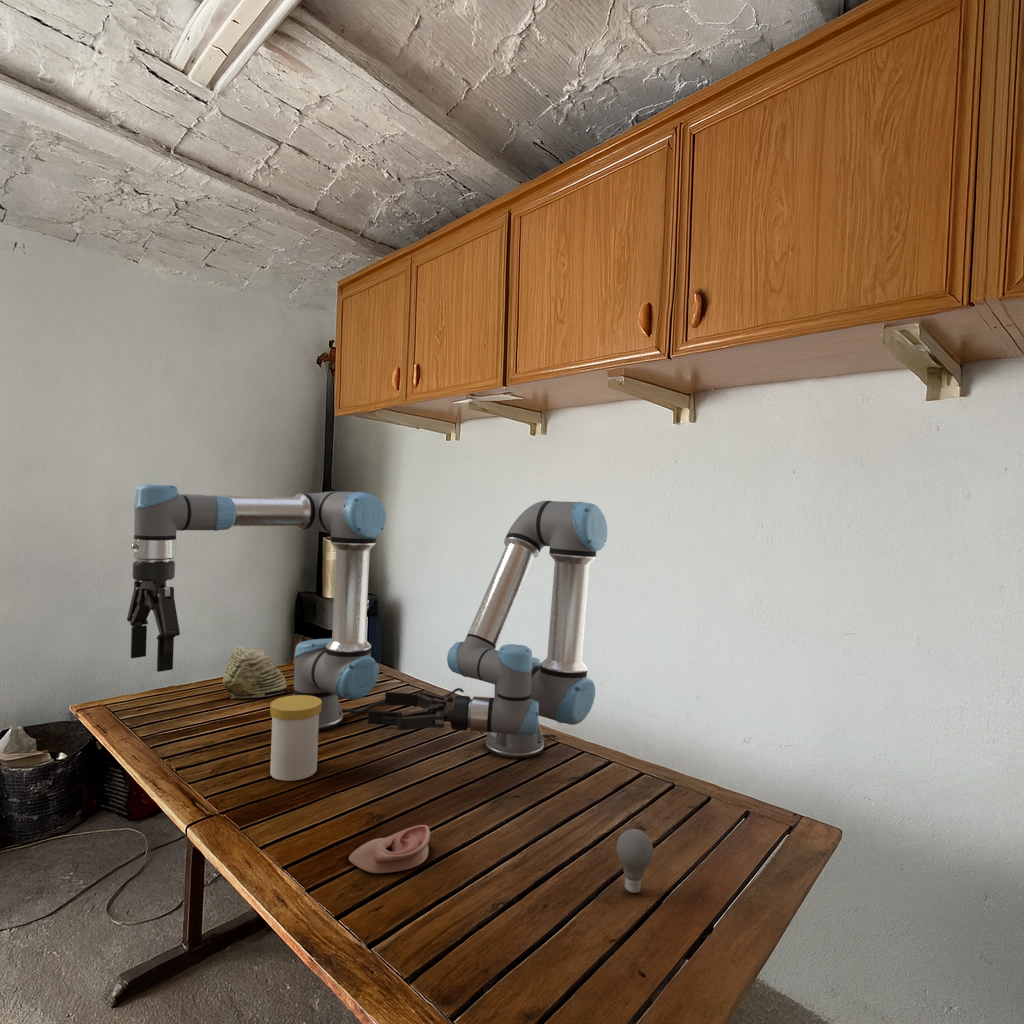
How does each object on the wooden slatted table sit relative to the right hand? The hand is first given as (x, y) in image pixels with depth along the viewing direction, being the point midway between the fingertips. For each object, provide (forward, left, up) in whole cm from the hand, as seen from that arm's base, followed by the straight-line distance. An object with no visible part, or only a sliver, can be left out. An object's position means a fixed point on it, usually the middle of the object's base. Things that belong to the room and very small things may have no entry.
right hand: (377, 706), depth 144 cm
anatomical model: (+2, +33, -16) cm, 37 cm away
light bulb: (-34, +54, -16) cm, 66 cm away
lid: (+17, -8, -1) cm, 19 cm away
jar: (+17, -8, -16) cm, 25 cm away
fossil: (+27, -68, -16) cm, 75 cm away
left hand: (+46, -2, +12) cm, 47 cm away
